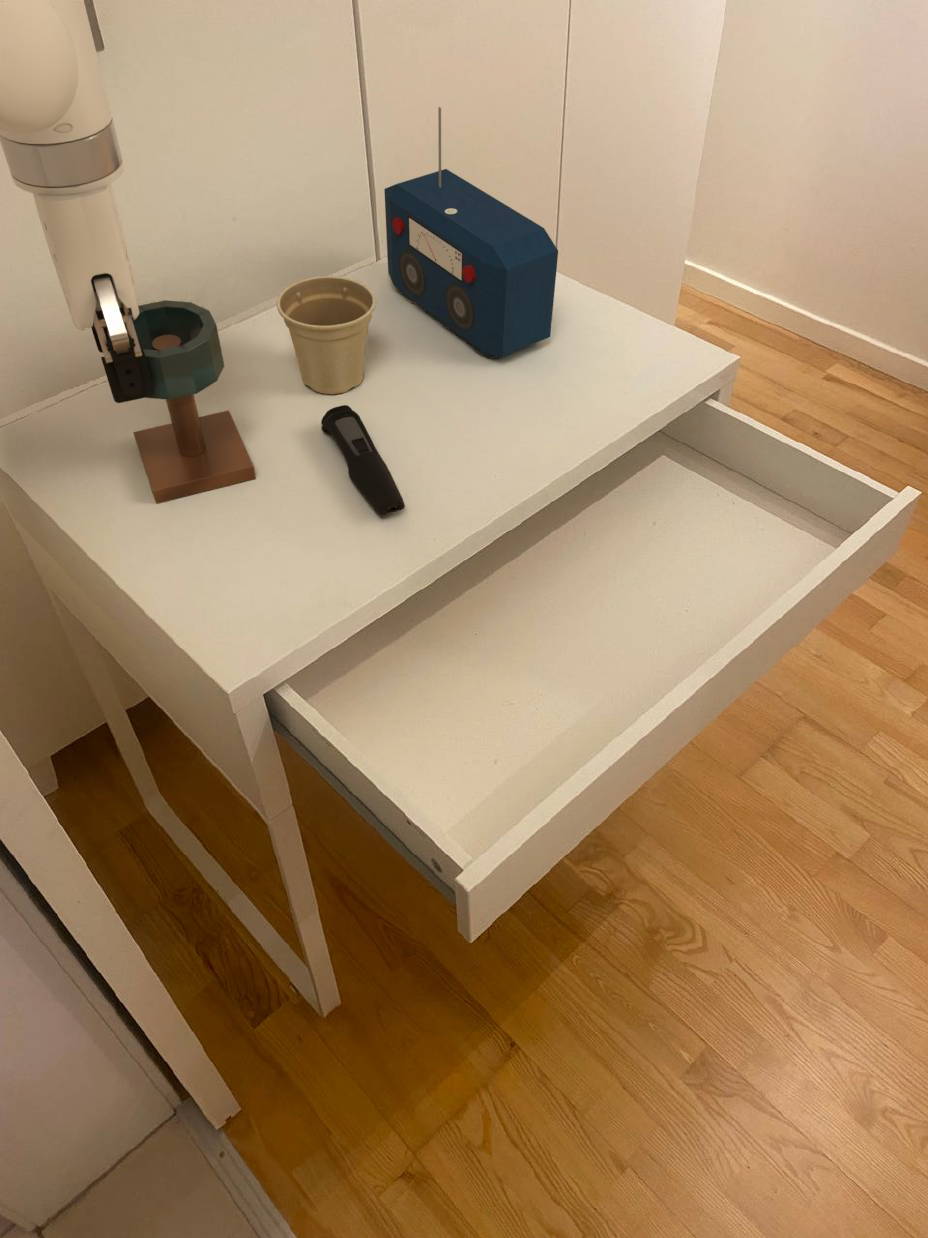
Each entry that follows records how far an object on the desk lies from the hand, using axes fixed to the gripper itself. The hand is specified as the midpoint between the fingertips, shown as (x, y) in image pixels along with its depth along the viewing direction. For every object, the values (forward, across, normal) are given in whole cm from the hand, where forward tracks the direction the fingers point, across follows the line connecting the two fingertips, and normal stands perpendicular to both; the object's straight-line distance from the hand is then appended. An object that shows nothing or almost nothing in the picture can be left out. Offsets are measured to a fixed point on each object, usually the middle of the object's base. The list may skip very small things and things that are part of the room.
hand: (125, 370), depth 79 cm
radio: (+11, -14, +37) cm, 41 cm away
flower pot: (+11, -8, +20) cm, 24 cm away
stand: (+11, 0, +4) cm, 11 cm away
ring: (+1, 0, +4) cm, 4 cm away
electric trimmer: (+11, +7, +18) cm, 22 cm away
